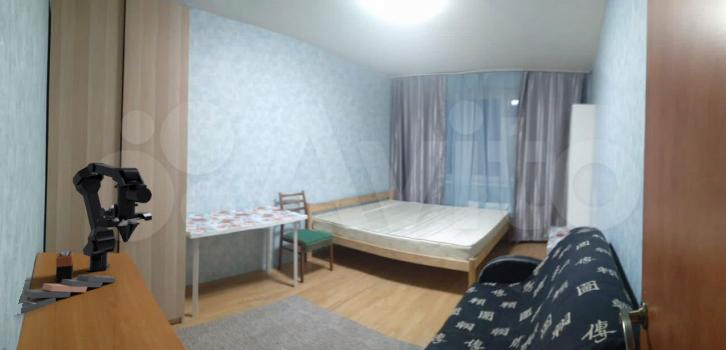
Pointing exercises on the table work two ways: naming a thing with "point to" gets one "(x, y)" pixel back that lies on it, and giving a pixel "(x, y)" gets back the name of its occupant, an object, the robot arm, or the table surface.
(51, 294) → the domino
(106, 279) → the domino
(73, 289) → the domino
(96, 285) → the domino
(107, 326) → the table surface
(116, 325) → the table surface
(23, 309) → the domino
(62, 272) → the battery
